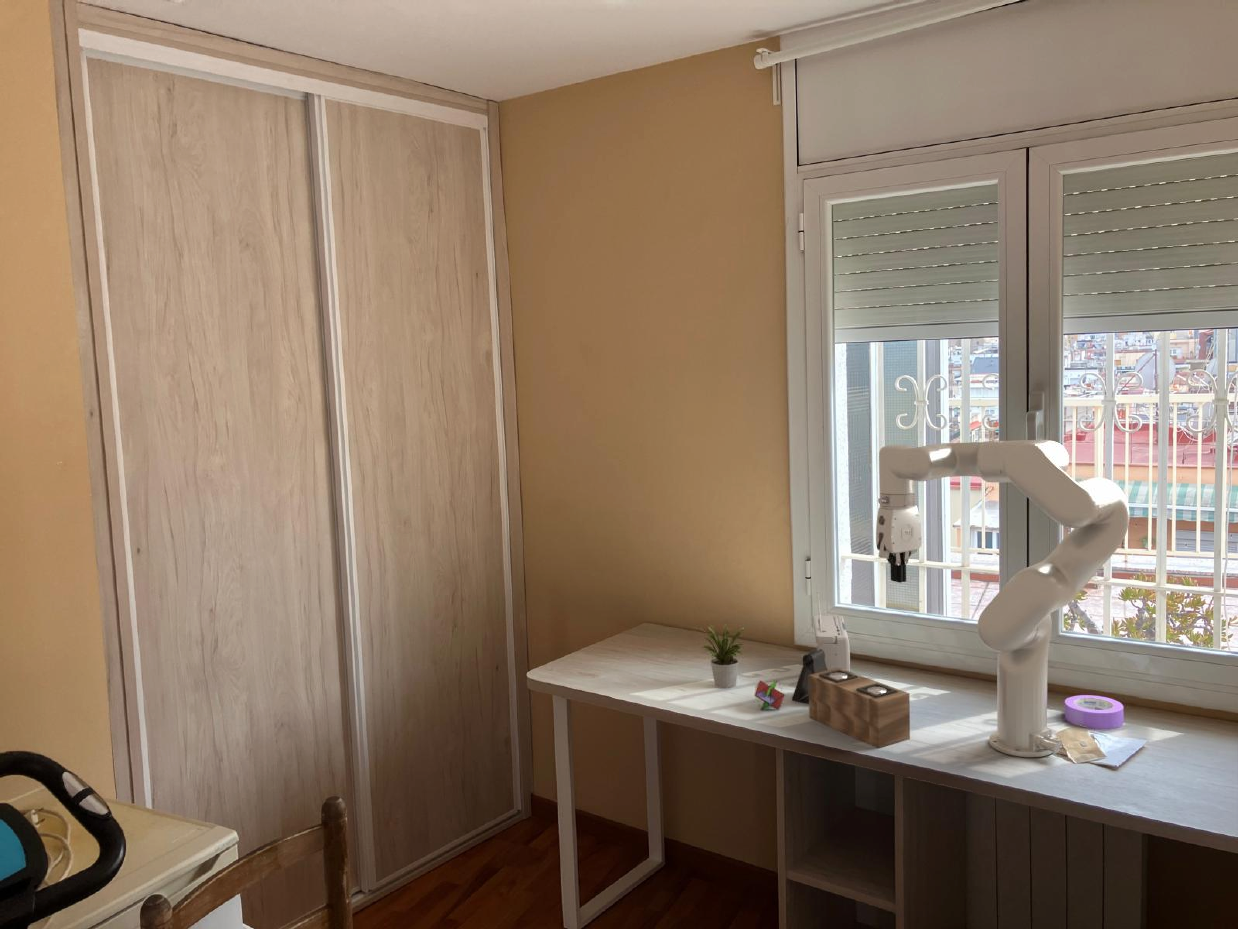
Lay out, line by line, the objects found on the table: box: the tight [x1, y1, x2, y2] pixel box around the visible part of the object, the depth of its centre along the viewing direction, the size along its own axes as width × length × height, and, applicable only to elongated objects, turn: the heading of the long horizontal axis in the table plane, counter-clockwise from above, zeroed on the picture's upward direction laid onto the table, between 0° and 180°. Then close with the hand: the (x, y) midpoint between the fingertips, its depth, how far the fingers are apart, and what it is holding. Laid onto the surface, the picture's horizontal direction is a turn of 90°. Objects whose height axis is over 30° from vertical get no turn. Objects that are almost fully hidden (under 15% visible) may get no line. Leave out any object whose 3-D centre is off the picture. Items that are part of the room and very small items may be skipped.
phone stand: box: [791, 647, 828, 705], centre depth 236 cm, size 9×6×12 cm, turn 52°
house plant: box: [694, 621, 747, 689], centre depth 249 cm, size 14×14×16 cm
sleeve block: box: [808, 668, 911, 749], centre depth 218 cm, size 22×9×10 cm, turn 30°
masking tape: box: [1064, 694, 1124, 730], centre depth 218 cm, size 12×12×4 cm
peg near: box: [867, 687, 887, 695], centre depth 213 cm, size 4×4×9 cm
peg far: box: [829, 673, 848, 680], centre depth 223 cm, size 4×4×9 cm
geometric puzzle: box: [754, 680, 786, 711], centre depth 232 cm, size 7×7×8 cm
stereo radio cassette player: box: [812, 590, 851, 672], centre depth 254 cm, size 21×8×20 cm, turn 171°
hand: (898, 581), depth 223 cm, fingers closed
